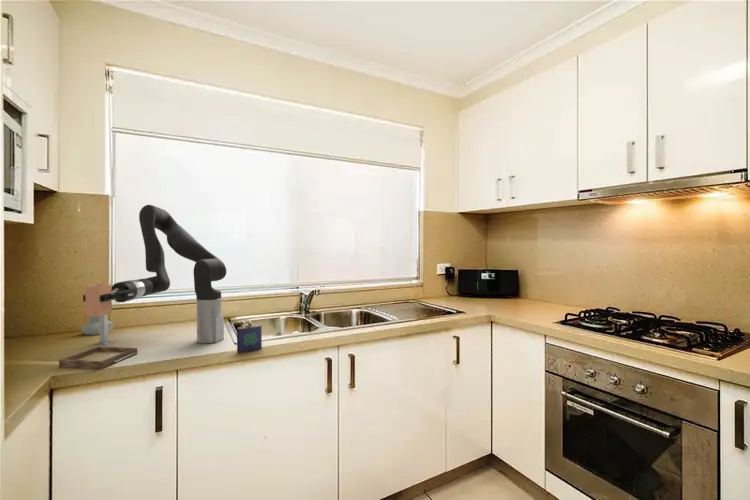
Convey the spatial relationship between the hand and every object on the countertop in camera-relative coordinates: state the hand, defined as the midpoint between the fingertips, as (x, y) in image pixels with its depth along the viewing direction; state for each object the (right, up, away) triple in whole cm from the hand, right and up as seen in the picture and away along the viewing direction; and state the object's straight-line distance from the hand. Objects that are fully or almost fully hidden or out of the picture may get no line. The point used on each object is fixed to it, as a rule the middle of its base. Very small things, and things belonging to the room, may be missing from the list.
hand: (92, 298), depth 121 cm
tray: (0, -22, +3) cm, 22 cm away
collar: (0, -6, +3) cm, 7 cm away
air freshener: (-25, -20, +36) cm, 48 cm away
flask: (+47, -22, +16) cm, 54 cm away
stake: (-11, -21, +20) cm, 31 cm away
